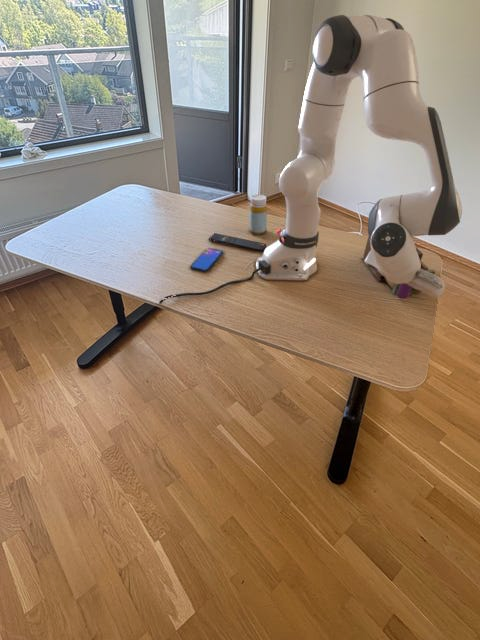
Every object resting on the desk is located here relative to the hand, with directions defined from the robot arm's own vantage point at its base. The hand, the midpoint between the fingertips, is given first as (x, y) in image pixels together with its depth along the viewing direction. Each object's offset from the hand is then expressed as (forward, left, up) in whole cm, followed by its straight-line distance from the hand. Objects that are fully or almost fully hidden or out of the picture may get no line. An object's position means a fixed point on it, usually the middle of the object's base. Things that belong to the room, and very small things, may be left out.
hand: (408, 282), depth 97 cm
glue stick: (-1, 0, -4) cm, 4 cm away
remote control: (-42, +52, -13) cm, 69 cm away
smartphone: (-55, +41, -13) cm, 70 cm away
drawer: (+10, +15, -12) cm, 21 cm away
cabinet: (+10, +26, -13) cm, 31 cm away
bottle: (-32, +62, -13) cm, 72 cm away
